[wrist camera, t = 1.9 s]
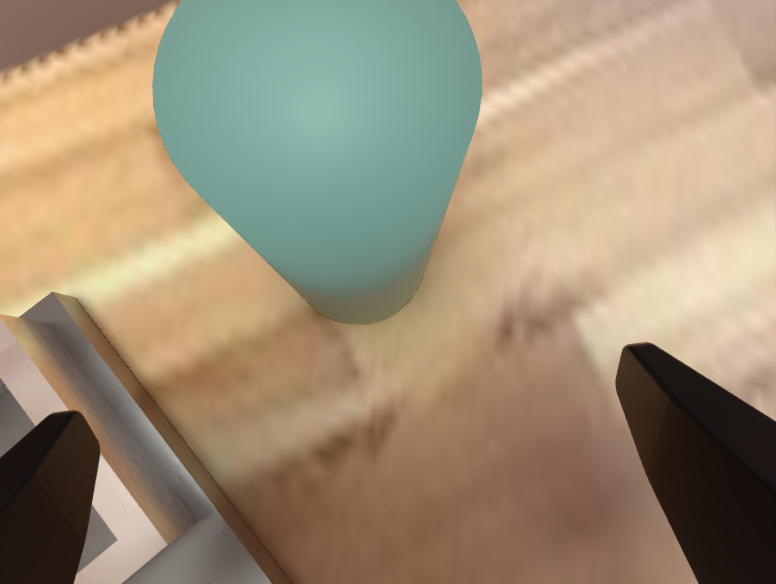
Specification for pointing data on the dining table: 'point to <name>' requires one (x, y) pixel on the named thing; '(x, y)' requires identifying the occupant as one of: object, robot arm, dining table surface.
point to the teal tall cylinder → (324, 134)
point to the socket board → (124, 459)
